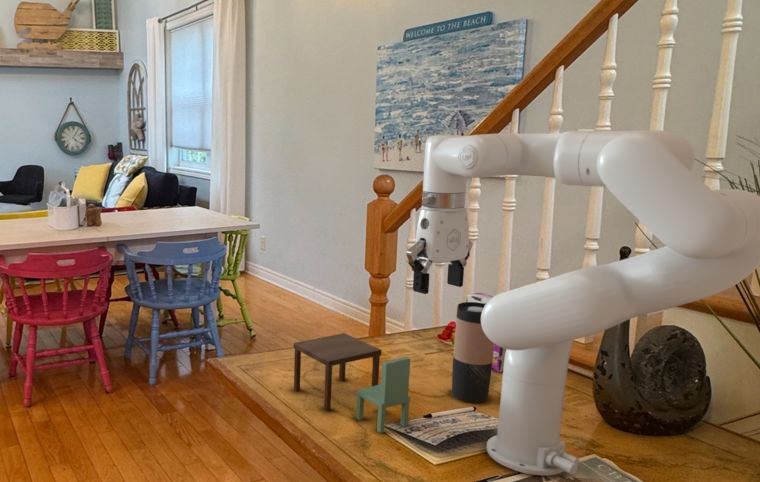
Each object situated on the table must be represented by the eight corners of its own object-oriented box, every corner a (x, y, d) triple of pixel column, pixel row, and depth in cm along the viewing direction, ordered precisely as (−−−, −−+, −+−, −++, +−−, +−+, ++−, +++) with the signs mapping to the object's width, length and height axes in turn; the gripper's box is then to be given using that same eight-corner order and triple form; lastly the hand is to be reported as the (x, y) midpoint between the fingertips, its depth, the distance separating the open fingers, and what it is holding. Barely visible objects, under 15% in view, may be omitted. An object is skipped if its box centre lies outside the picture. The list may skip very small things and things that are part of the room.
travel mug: (490, 393, 138) (498, 304, 134) (487, 406, 132) (495, 314, 128) (453, 385, 142) (459, 300, 138) (447, 399, 135) (454, 309, 132)
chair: (408, 425, 124) (412, 357, 121) (380, 433, 121) (384, 364, 118) (382, 410, 131) (385, 346, 128) (355, 417, 128) (357, 352, 125)
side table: (379, 398, 136) (381, 349, 134) (326, 411, 130) (328, 361, 128) (342, 378, 147) (344, 332, 145) (292, 389, 141) (293, 342, 139)
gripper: (428, 207, 112) (422, 300, 116) (490, 199, 121) (484, 286, 124) (395, 202, 119) (391, 290, 122) (456, 196, 127) (451, 279, 130)
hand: (437, 288), depth 123 cm, fingers open, 9 cm apart
